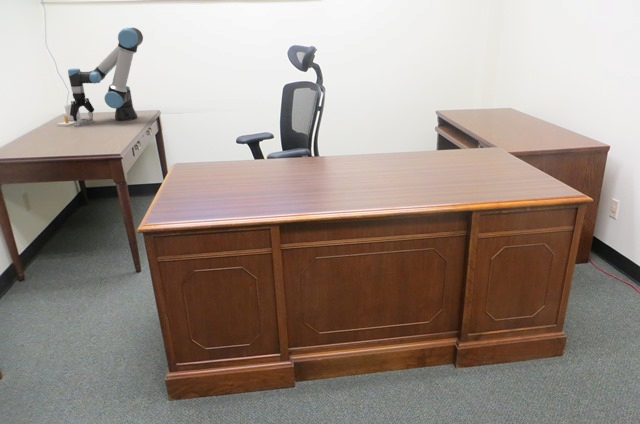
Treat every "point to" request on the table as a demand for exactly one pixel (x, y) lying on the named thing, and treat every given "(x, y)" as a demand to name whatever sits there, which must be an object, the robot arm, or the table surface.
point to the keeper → (66, 122)
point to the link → (85, 121)
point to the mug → (68, 109)
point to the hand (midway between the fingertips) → (84, 123)
